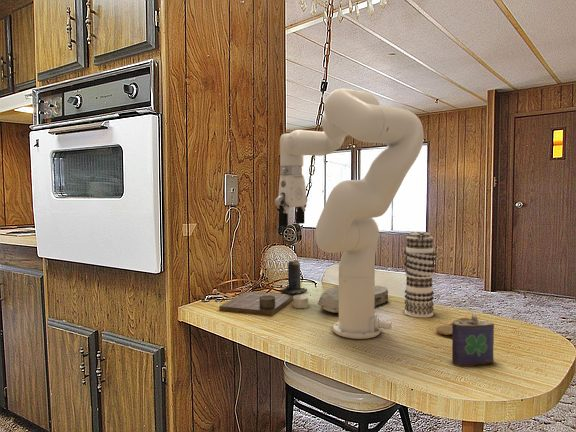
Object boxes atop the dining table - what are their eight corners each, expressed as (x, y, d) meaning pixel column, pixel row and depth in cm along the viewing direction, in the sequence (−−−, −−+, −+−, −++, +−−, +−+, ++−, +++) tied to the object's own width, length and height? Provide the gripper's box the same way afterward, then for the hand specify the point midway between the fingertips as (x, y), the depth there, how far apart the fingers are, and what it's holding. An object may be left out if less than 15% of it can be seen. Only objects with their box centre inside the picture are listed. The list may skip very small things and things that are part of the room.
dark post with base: (294, 296, 149) (293, 263, 148) (279, 292, 154) (278, 260, 153) (310, 291, 155) (310, 260, 154) (295, 288, 160) (295, 257, 160)
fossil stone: (339, 319, 122) (339, 301, 121) (305, 308, 133) (305, 292, 132) (395, 301, 140) (395, 286, 140) (361, 293, 151) (361, 279, 151)
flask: (489, 359, 92) (490, 312, 91) (497, 365, 89) (498, 316, 89) (449, 361, 91) (450, 314, 91) (456, 367, 88) (456, 318, 88)
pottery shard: (480, 347, 102) (484, 326, 111) (479, 332, 101) (483, 312, 109) (435, 342, 108) (442, 322, 116) (433, 327, 107) (441, 308, 115)
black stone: (277, 305, 132) (277, 296, 131) (271, 309, 127) (271, 300, 127) (263, 303, 133) (263, 294, 133) (256, 308, 129) (256, 298, 128)
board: (293, 299, 144) (293, 295, 144) (271, 316, 125) (271, 311, 125) (246, 295, 150) (246, 291, 150) (219, 310, 132) (219, 305, 132)
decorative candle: (419, 319, 120) (420, 234, 119) (396, 311, 129) (397, 231, 127) (441, 315, 125) (442, 232, 123) (418, 307, 133) (419, 230, 131)
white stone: (310, 304, 137) (310, 295, 137) (305, 308, 133) (305, 299, 132) (295, 303, 139) (295, 294, 139) (290, 307, 134) (290, 298, 134)
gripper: (285, 171, 125) (286, 227, 126) (315, 172, 139) (315, 223, 141) (266, 171, 129) (266, 226, 131) (296, 172, 144) (296, 221, 145)
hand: (291, 224), depth 136 cm, fingers open, 9 cm apart
